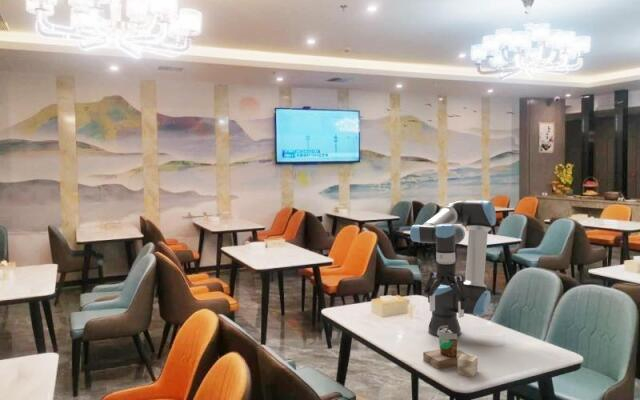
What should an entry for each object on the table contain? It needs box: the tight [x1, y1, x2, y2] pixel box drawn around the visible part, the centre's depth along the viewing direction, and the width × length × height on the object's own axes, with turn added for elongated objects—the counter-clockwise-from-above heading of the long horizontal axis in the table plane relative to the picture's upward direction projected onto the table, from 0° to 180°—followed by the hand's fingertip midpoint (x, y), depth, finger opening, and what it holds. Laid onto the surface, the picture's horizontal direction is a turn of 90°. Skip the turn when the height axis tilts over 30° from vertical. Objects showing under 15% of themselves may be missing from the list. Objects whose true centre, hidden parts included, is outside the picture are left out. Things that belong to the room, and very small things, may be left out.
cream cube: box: [457, 354, 479, 377], centre depth 203 cm, size 6×6×6 cm
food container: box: [437, 325, 459, 358], centre depth 214 cm, size 12×6×10 cm, turn 5°
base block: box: [422, 348, 469, 371], centre depth 215 cm, size 11×15×4 cm
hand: (446, 313), depth 214 cm, fingers open, 13 cm apart
